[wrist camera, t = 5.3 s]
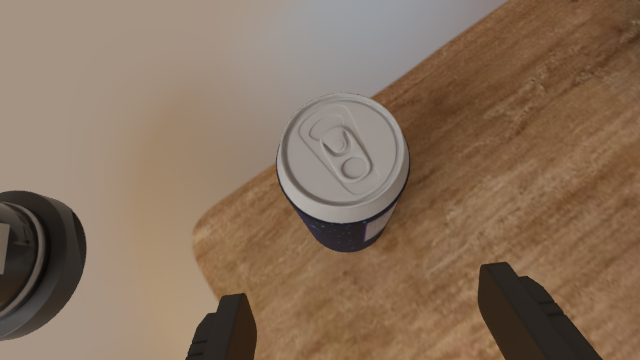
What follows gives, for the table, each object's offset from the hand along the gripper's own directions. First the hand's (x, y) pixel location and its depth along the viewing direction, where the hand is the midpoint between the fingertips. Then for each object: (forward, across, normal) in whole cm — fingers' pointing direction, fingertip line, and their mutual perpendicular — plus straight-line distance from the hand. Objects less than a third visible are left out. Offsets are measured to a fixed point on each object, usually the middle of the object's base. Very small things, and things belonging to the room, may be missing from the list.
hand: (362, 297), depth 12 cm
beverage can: (+12, 0, +4) cm, 13 cm away
